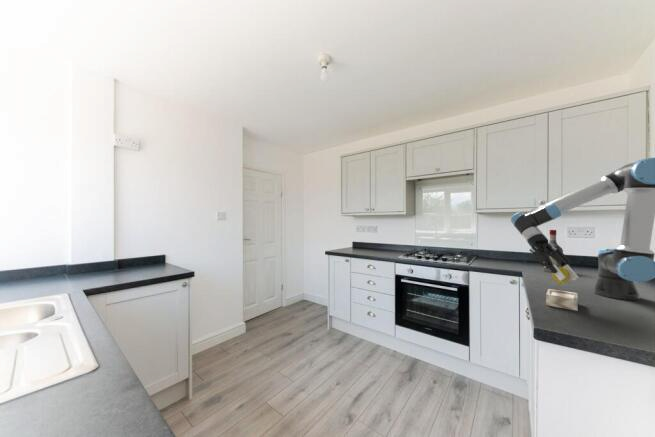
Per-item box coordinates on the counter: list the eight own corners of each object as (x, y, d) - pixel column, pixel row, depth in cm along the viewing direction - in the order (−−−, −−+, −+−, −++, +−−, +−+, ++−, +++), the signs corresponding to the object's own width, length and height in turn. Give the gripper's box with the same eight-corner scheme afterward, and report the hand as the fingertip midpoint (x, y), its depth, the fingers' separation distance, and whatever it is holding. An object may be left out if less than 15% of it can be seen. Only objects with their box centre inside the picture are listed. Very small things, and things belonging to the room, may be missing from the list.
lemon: (551, 282, 118) (551, 264, 118) (568, 284, 115) (568, 266, 115) (552, 284, 114) (552, 266, 114) (569, 286, 111) (569, 268, 111)
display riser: (577, 303, 115) (577, 293, 115) (577, 310, 106) (577, 299, 106) (548, 298, 122) (548, 288, 122) (546, 305, 113) (546, 294, 113)
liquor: (554, 273, 177) (554, 230, 177) (541, 270, 186) (541, 229, 186) (565, 272, 179) (565, 230, 179) (551, 270, 188) (551, 229, 188)
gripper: (546, 242, 130) (581, 283, 114) (513, 243, 129) (544, 284, 112) (557, 233, 125) (595, 273, 109) (522, 233, 123) (556, 274, 107)
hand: (569, 278), depth 111 cm, fingers closed on lemon, 5 cm apart
